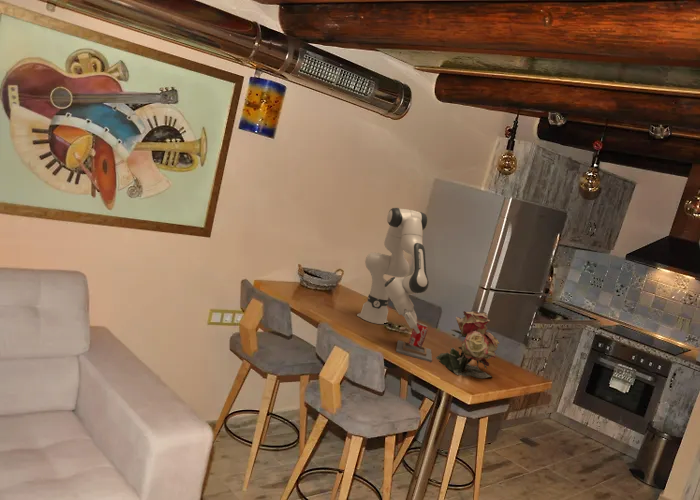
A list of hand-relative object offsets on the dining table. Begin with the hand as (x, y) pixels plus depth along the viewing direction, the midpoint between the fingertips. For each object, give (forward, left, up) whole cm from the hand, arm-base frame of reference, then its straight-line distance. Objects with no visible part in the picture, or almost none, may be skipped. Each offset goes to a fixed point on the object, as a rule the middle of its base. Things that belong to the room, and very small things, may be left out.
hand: (418, 331), depth 315 cm
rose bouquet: (+5, +27, -11) cm, 30 cm away
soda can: (+1, 0, -8) cm, 8 cm away
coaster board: (0, 0, -11) cm, 11 cm away
